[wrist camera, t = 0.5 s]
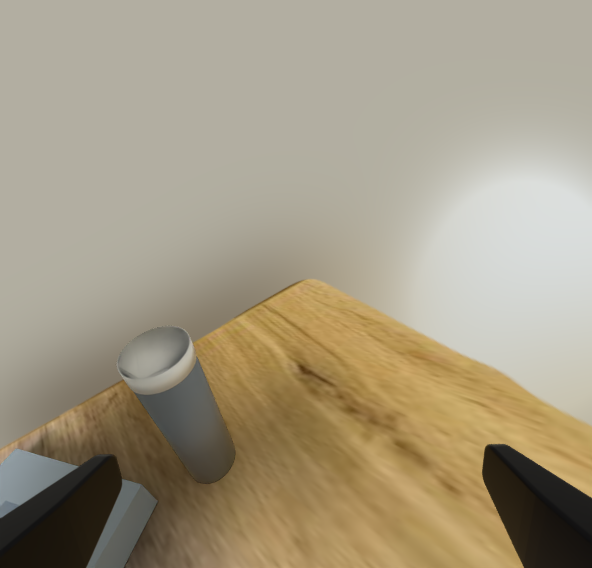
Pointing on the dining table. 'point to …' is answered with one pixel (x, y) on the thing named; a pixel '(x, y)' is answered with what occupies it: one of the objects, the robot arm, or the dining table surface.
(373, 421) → the dining table surface
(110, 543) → the socket
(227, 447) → the peg
